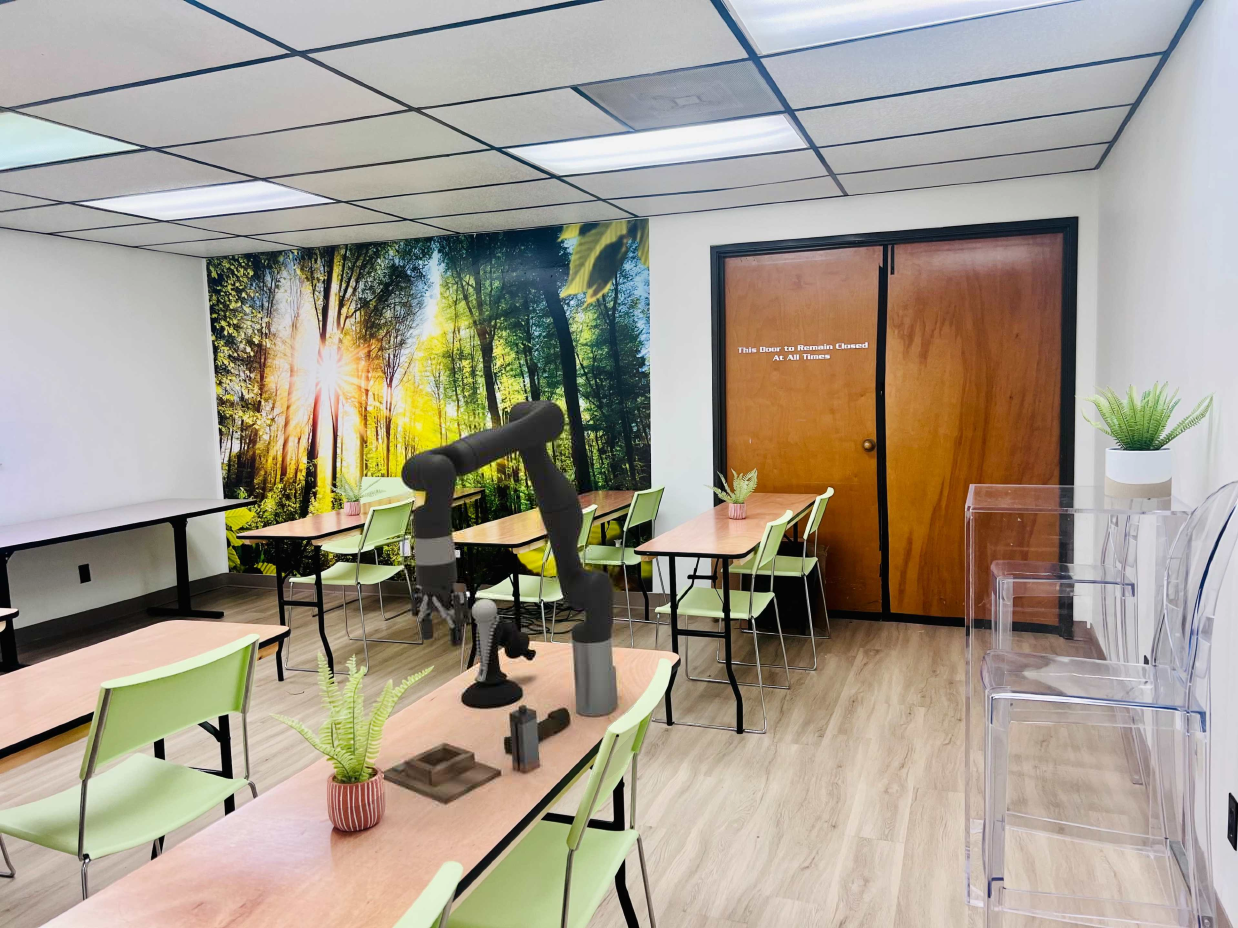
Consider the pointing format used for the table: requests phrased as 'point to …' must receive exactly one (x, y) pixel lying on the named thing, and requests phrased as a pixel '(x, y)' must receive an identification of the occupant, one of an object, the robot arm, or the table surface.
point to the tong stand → (442, 773)
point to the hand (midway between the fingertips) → (442, 642)
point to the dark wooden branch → (546, 726)
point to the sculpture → (495, 659)
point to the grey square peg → (524, 739)
